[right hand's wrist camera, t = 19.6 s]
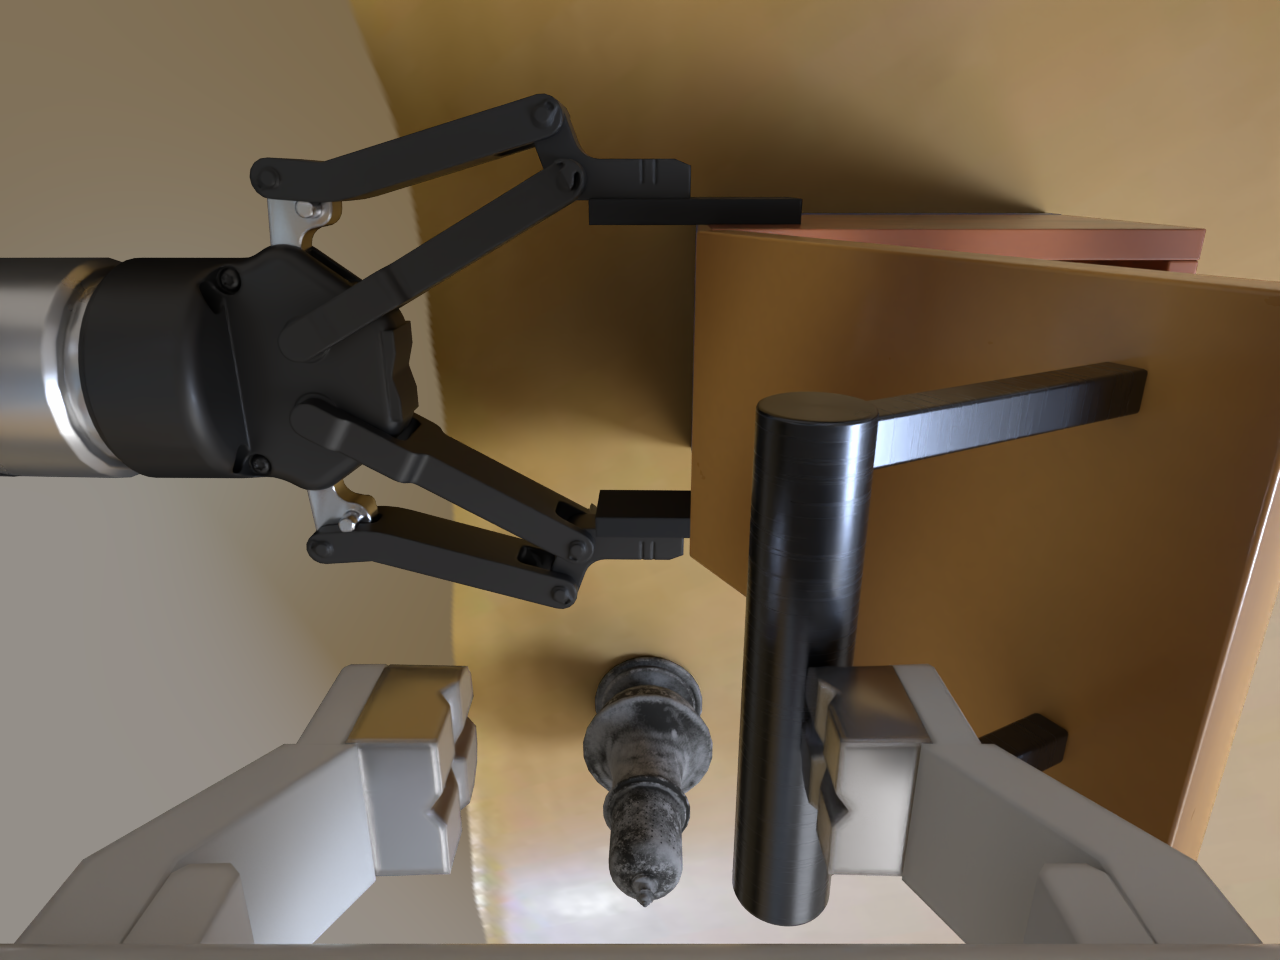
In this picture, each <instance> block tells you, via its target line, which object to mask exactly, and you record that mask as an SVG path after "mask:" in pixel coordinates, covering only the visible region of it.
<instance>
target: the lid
mask: <svg viewBox="0 0 1280 960" xmlns="http://www.w3.org/2000/svg"><path fill="white" fill-rule="evenodd" d="M690 556H691V557H692V558H693V559H695V560H696V561H697V562H699V563H700V564H701V565H703V566H704V567H706V568H707V569H708V570H710V571H711V572H712V573H714V574H715V575H717V576H718V577H719V578H721V579H722V580H723V581H725V582H726V583H728V584H729V585H730V586H732V587H733V588H735V589H736V590H737V591H739V592H740V593H741V594H743V595H744V596H746V616H745V636H744V656H743V676H742V696H741V716H740V737H739V757H738V777H737V797H736V817H735V837H734V858H733V878H732V880H733V888H734V891H735V894H736V896H737V898H738V900H739V901H740V903H741V904H742V906H743V907H744V908H745V909H746V910H747V911H748V912H750V913H751V914H752V915H754V916H755V917H757V918H758V919H760V920H762V921H765V922H767V923H770V924H774V925H779V926H797V925H802V924H805V923H807V922H810V921H812V920H813V919H815V918H816V917H817V916H819V915H820V913H821V912H822V911H823V910H824V908H825V907H826V905H827V902H828V899H829V893H830V883H831V876H832V875H834V874H828V872H827V868H826V864H825V861H824V857H823V854H822V850H821V847H820V843H819V840H818V836H817V832H816V824H817V812H818V810H817V809H815V808H814V807H813V806H812V805H811V804H809V803H808V799H807V795H806V791H805V787H804V780H803V774H802V759H801V741H802V726H803V725H804V723H805V722H806V721H807V720H808V719H809V718H810V717H811V715H810V711H809V708H808V705H807V701H806V698H805V688H806V678H807V674H808V670H809V667H846V666H887V665H906V664H929V665H931V666H933V667H934V668H935V669H936V671H937V673H938V674H939V676H940V677H941V679H942V681H943V682H944V684H945V685H946V687H947V689H948V690H949V692H950V694H951V695H952V697H953V698H954V700H955V702H956V703H957V705H958V707H959V708H960V710H961V711H962V713H963V715H964V716H965V718H966V719H967V721H968V723H969V724H970V726H971V728H972V729H973V731H974V732H975V734H976V736H977V737H978V739H979V741H980V742H981V744H995V745H996V746H998V747H1000V748H1002V749H1003V750H1005V751H1007V752H1009V753H1010V754H1012V755H1014V756H1015V757H1017V758H1019V759H1021V760H1022V761H1024V762H1026V763H1028V764H1029V765H1031V766H1033V767H1034V768H1036V769H1038V770H1040V771H1041V772H1043V773H1045V774H1047V775H1048V776H1050V777H1052V778H1053V779H1055V780H1057V781H1059V782H1060V783H1062V784H1064V785H1066V786H1067V787H1069V788H1071V789H1072V790H1074V791H1076V792H1078V793H1079V794H1081V795H1083V796H1085V797H1086V798H1088V799H1090V800H1091V801H1093V802H1095V803H1097V804H1098V805H1100V806H1102V807H1104V808H1105V809H1107V810H1109V811H1110V812H1112V813H1114V814H1116V815H1117V816H1119V817H1121V818H1123V819H1124V820H1126V821H1128V822H1129V823H1131V824H1133V825H1135V826H1136V827H1138V828H1140V829H1142V830H1143V831H1145V832H1147V833H1148V834H1150V835H1152V836H1154V837H1155V838H1157V839H1159V840H1161V841H1162V842H1164V843H1166V844H1167V845H1169V846H1171V847H1173V848H1174V849H1176V850H1178V851H1180V852H1181V853H1183V854H1185V855H1186V856H1188V857H1190V858H1192V859H1193V860H1195V861H1197V858H1198V854H1199V851H1200V848H1201V845H1202V841H1203V838H1204V835H1205V831H1206V828H1207V825H1208V821H1209V818H1210V815H1211V812H1212V808H1213V805H1214V802H1215V798H1216V795H1217V792H1218V788H1219V785H1220V782H1221V778H1222V775H1223V772H1224V769H1225V765H1226V762H1227V759H1228V755H1229V752H1230V749H1231V745H1232V742H1233V739H1234V735H1235V732H1236V729H1237V726H1238V722H1239V719H1240V716H1241V712H1242V709H1243V706H1244V702H1245V699H1246V696H1247V693H1248V689H1249V686H1250V683H1251V679H1252V676H1253V673H1254V669H1255V666H1256V663H1257V659H1258V656H1259V653H1260V650H1261V646H1262V643H1263V640H1264V636H1265V633H1266V630H1267V626H1268V623H1269V620H1270V616H1271V613H1272V610H1273V607H1274V603H1275V600H1276V597H1277V593H1278V590H1279V587H1280V282H1275V281H1265V280H1254V279H1244V278H1233V277H1222V276H1212V275H1201V274H1191V273H1180V272H1170V271H1159V270H1149V269H1138V268H1128V267H1117V266H1107V265H1096V264H1085V263H1075V262H1064V261H1054V260H1043V259H1033V258H1022V257H1012V256H1001V255H991V254H980V253H970V252H959V251H948V250H938V249H927V248H917V247H906V246H896V245H885V244H875V243H864V242H854V241H843V240H832V239H822V238H811V237H801V236H790V235H780V234H769V233H759V232H748V231H738V230H707V231H699V232H697V244H696V289H695V334H694V379H693V425H692V470H691V515H690Z"/></svg>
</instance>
